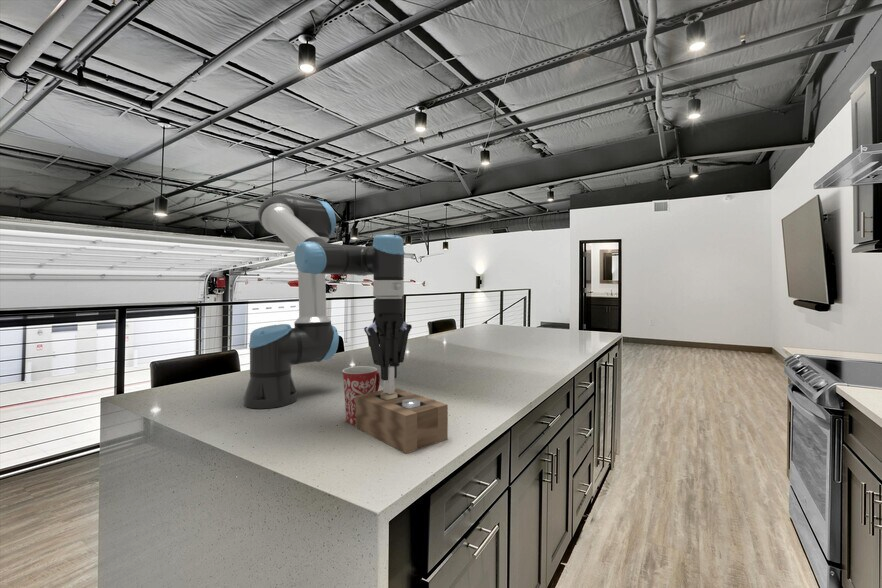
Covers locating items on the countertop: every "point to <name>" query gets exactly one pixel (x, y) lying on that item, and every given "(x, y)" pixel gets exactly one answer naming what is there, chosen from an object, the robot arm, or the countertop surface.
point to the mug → (358, 387)
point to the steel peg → (410, 403)
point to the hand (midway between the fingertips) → (388, 392)
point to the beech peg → (389, 395)
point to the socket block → (402, 420)
